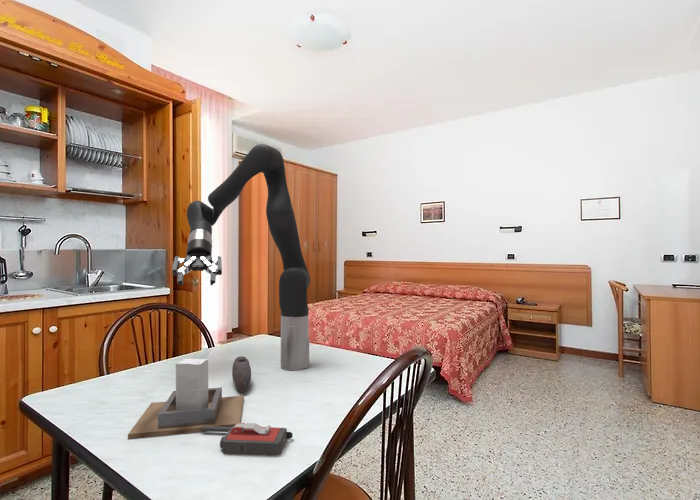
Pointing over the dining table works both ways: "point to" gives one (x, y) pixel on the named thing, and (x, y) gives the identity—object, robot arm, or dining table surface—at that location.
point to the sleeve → (190, 412)
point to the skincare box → (192, 384)
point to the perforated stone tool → (241, 373)
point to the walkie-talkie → (251, 439)
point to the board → (149, 426)
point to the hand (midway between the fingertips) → (196, 283)
